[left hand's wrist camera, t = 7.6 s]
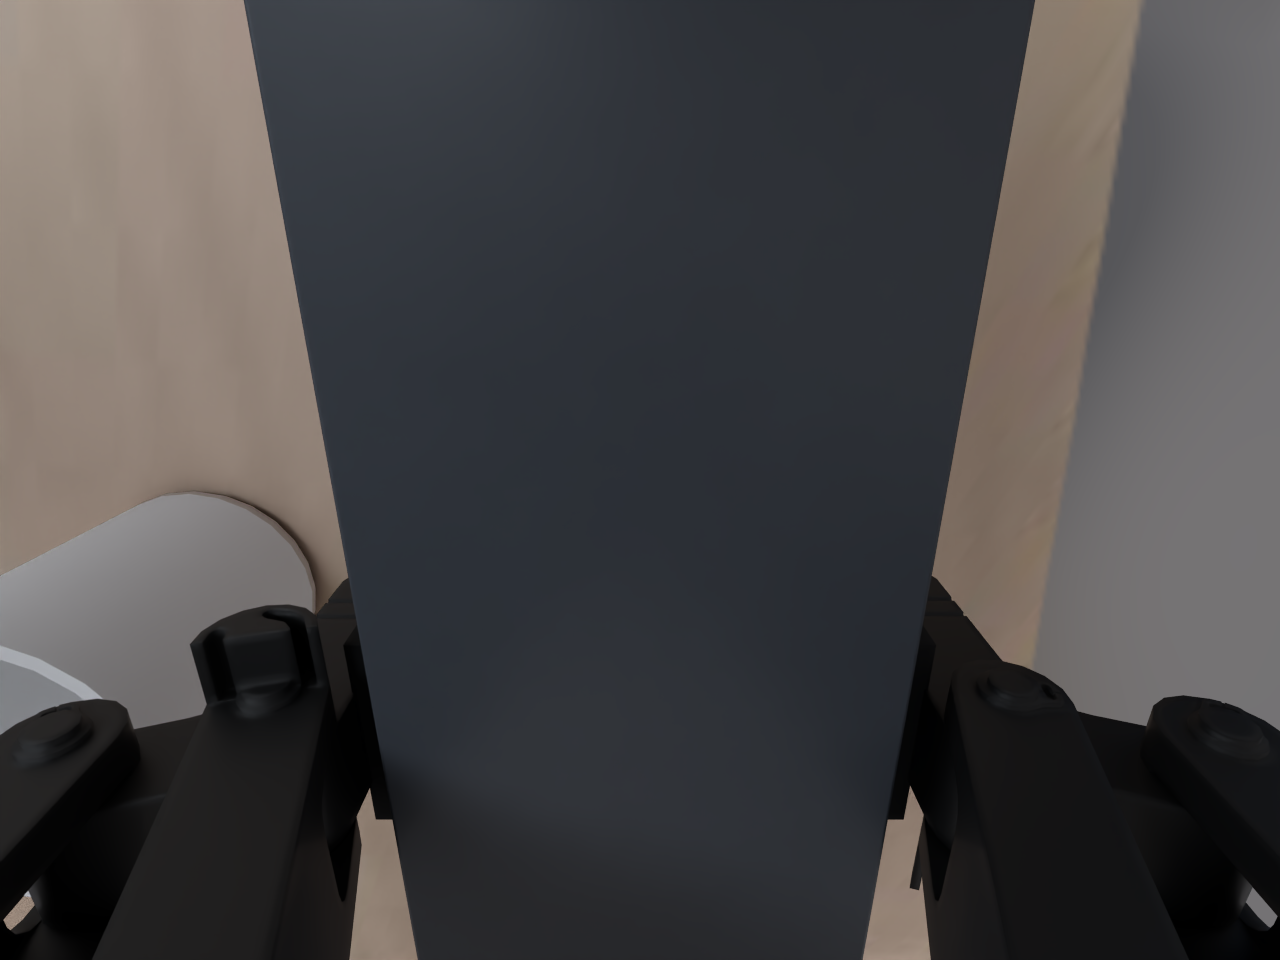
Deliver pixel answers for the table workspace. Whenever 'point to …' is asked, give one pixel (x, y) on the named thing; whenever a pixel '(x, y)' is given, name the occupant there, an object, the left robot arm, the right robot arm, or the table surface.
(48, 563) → the mug
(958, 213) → the bar
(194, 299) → the table surface
